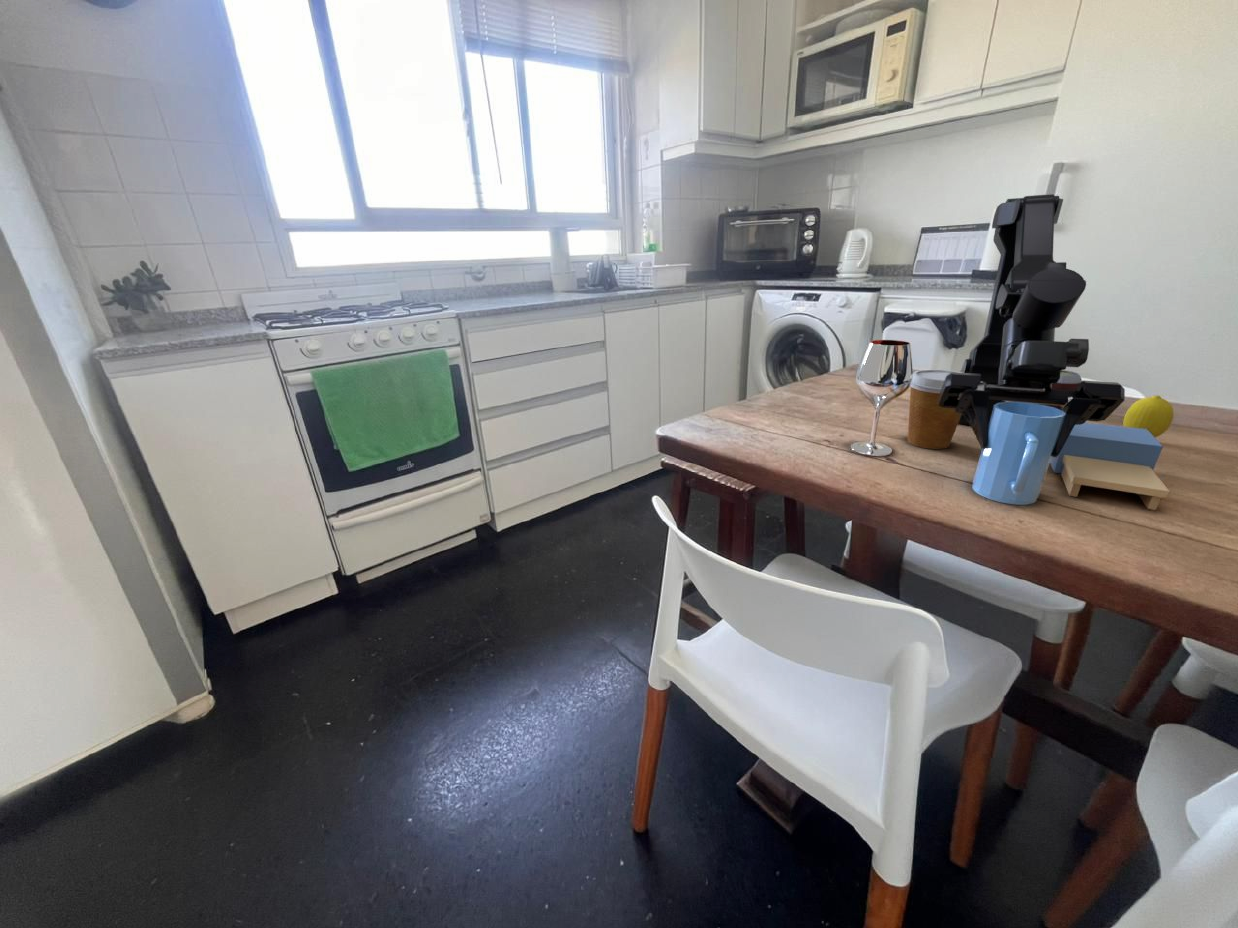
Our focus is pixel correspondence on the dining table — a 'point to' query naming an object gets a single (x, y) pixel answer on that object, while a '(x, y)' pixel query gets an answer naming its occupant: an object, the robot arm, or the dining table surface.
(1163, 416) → the lemon
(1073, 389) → the mate gourd
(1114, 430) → the blue and wooden stand
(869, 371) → the wineglass
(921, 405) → the disposable coffee cup
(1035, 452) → the blue mug
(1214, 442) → the dining table surface
